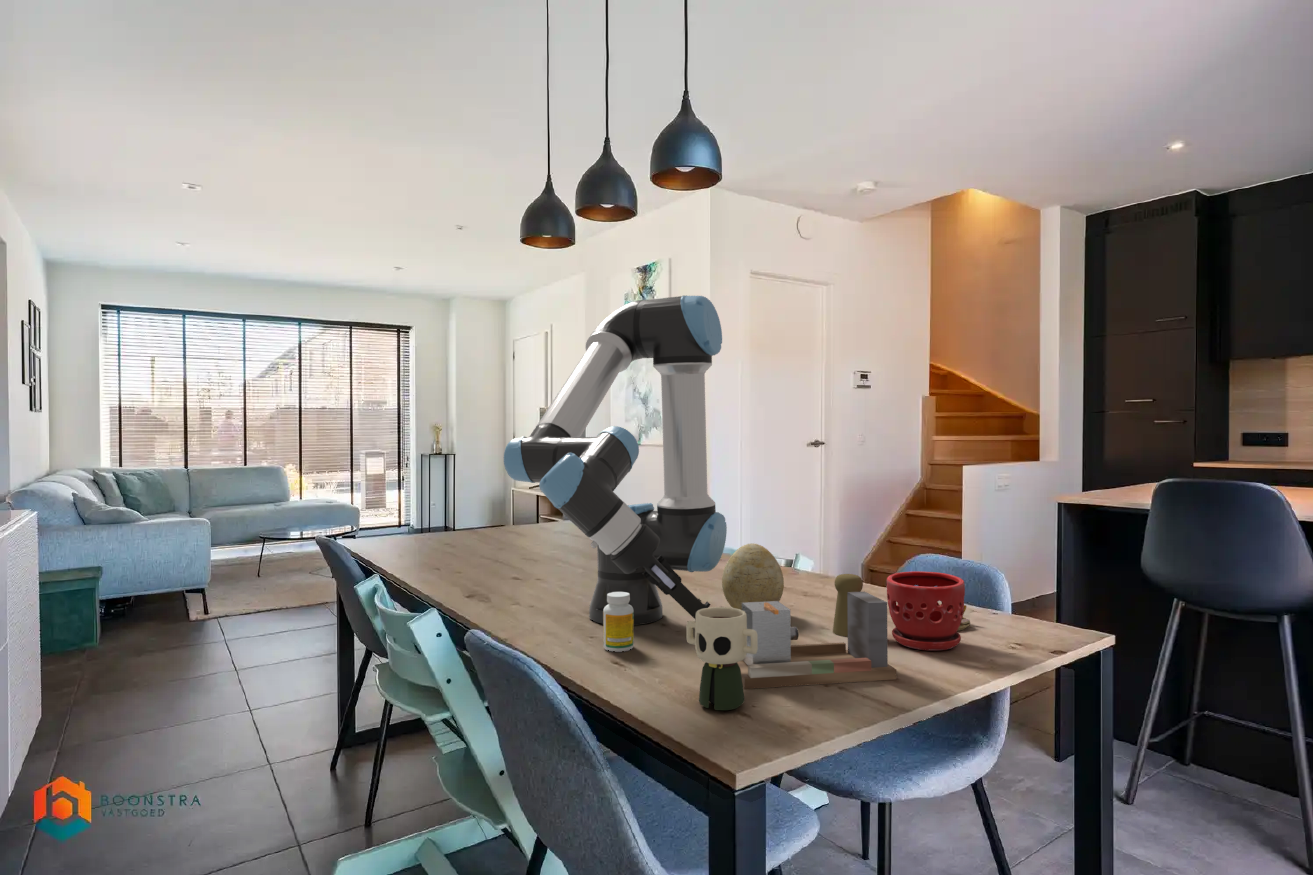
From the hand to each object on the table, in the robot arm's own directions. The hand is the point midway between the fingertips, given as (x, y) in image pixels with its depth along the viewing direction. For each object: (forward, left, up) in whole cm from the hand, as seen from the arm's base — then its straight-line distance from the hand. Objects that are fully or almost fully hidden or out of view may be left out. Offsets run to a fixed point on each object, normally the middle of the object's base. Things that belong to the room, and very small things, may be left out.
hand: (733, 644), depth 115 cm
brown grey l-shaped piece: (-1, +12, -5) cm, 13 cm away
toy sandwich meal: (-25, +47, -6) cm, 54 cm away
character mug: (+11, -5, -5) cm, 13 cm away
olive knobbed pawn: (-22, +28, -5) cm, 36 cm away
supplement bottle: (-20, -16, -5) cm, 26 cm away
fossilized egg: (-38, +14, -5) cm, 40 cm away
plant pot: (-12, +38, -5) cm, 40 cm away
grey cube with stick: (+1, +6, -3) cm, 7 cm away
